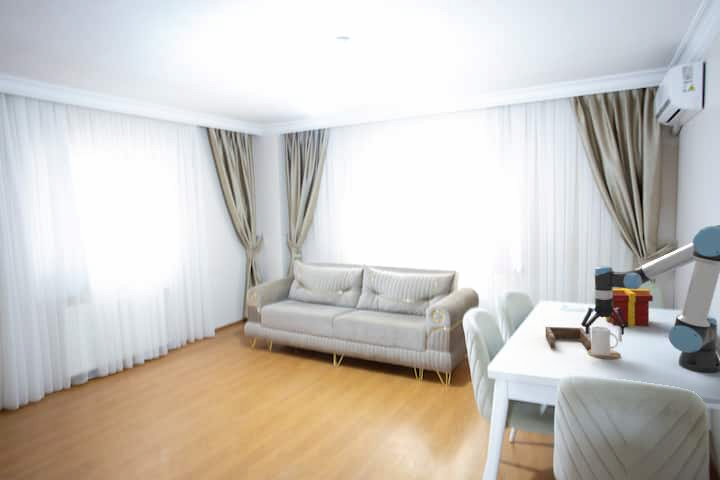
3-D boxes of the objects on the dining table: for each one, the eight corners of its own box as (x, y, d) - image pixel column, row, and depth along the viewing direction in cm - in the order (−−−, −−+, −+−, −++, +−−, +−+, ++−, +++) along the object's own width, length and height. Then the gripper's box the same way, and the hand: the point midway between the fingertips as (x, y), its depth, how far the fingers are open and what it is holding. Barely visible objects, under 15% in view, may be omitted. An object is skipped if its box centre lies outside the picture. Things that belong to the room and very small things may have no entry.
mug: (620, 353, 216) (620, 329, 215) (613, 358, 211) (613, 333, 210) (595, 348, 225) (595, 325, 224) (588, 352, 220) (587, 328, 219)
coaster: (624, 360, 210) (624, 358, 210) (591, 358, 214) (591, 356, 214) (615, 350, 223) (615, 349, 223) (585, 349, 227) (585, 347, 227)
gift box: (641, 317, 284) (642, 286, 282) (656, 328, 260) (656, 293, 258) (598, 316, 291) (598, 286, 289) (609, 326, 267) (609, 293, 265)
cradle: (591, 350, 225) (591, 338, 225) (550, 348, 231) (550, 337, 230) (582, 338, 245) (582, 327, 245) (545, 337, 250) (545, 326, 250)
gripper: (630, 296, 217) (630, 339, 218) (574, 296, 224) (575, 337, 225) (635, 299, 210) (635, 343, 211) (577, 299, 216) (578, 342, 218)
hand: (604, 340), depth 218 cm, fingers open, 13 cm apart
